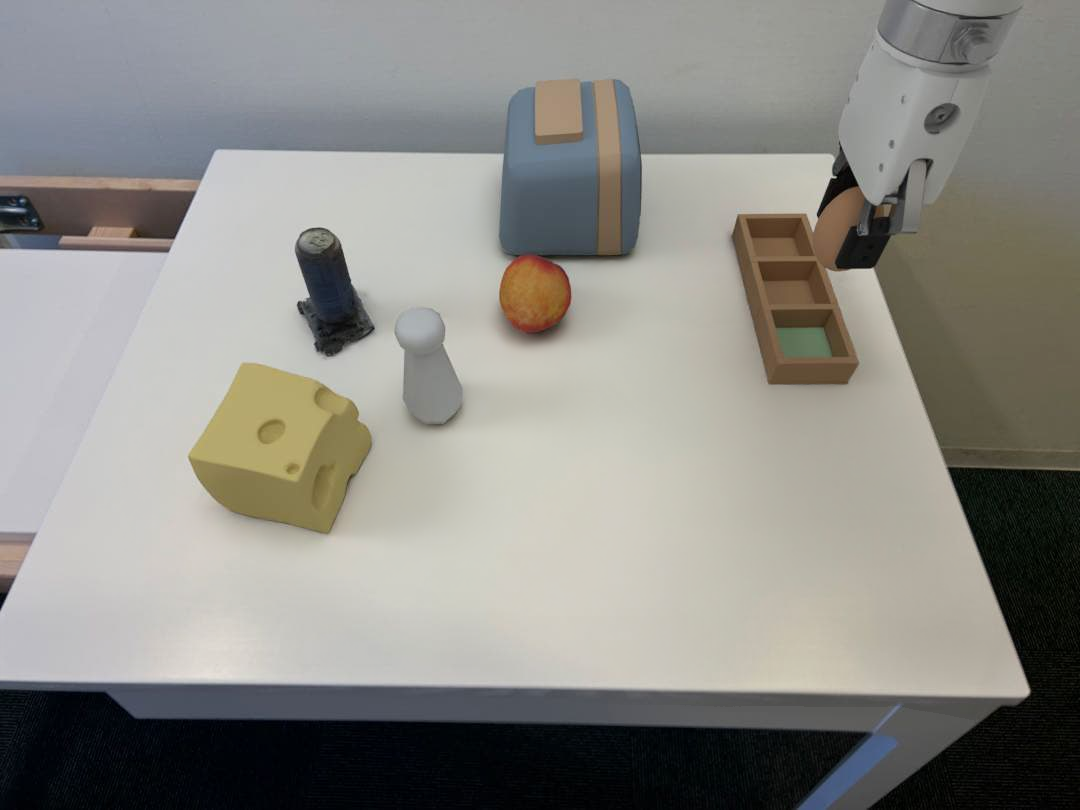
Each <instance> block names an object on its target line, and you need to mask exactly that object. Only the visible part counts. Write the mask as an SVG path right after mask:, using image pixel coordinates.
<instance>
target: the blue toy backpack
mask: <svg viewBox="0 0 1080 810" xmlns="http://www.w3.org/2000/svg"><path fill="white" fill-rule="evenodd" d="M638 130H639V129H638V123H637V116H636V109H635V106H634V100H633V97H632V93H631V90H630V87H629V86H628V85H627V84H626V83H624V82H623V81H622V80H621V79H615V78H613V79H612V78H608V79H597V80H593V81H592V80H587V81H581V79H580V78H578V77H577V78H576V77H575V78H565V79H552V80H540V81H536V82H535V85H534V86H529V87H528V86H527V87H524V88H520V89H518V90H517V91H516V92H515V93H514V94H513V95H512V97H511V98H510V100H509V103H508V106H507V116H506V127H505V138H504V149H503V160H502V171H501V172H502V173H501V188H500V189H501V191H500V209H499V224H498V225H499V228H498V239H499V243H500V247H501V249H502V250H503V251H505V252H506V253H507V254H510V255H513V256H521V255H525V254H533V255H537V256H620V255H622V256H623V255H626V254H629V253H630V252H631V251H632V250H634V249H635V248H636V245H637V242H638V238H639V228H640V222H641V216H642V215H641V213H642V193H643V192H642V189H643V163H642V162H643V161H642V153H641V146H640V137H639V131H638Z"/></svg>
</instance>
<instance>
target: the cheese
mask: <svg viewBox="0 0 1080 810" xmlns="http://www.w3.org/2000/svg"><path fill="white" fill-rule="evenodd" d="M359 417H360V411H359V409H358V407H357V405H356V403H355V402H353V400H352V399H350V398H348V397H345V396H342V395H340V394H338V393H337V392H335V391H334V390H332V389H330V388H329V387H328V386H327V385H325V384H324V383H322V382H320V381H318V380H317V379H313V378H311V377H308V376H303V375H299V374H295V373H292V372H289V371H285V370H282V369H278V368H275V367H273V366H268V365H266V364H260V363H256V362H255V363H254V362H242V363H241V364H240V366H239V367H238V369H237V371H236V373H235V376H234V377H233V380H232V382H231V384H230V387H229V388H228V390H227V392H226V394H225V396H224V397H223V399H222V401H221V402H220V404H219V406H218V407H217V409H216V411H215V413H214V414H213V416H212V417H211V419H210V421H209V422H208V423H207V426H206V427H205V429H204V430H203V432H202V434H201V435H200V437H199V438H198V439H197V442H195V444H194V446H193V447H192V448H191V450H190V452H189V453H188V454H187V458H188V461H189V463H190V465H191V468H192V470H193V472H194V474H195V476H196V478H197V480H198V482H199V483H200V485H202V487H203V488H204V489H205V490H206V492H207V493H208V494H209V495H210V496H211V497H212V498H213V499H214V501H216V502H217V503H218V504H219V505H221V506H222V507H224V508H225V509H227V510H228V511H230V512H233V513H235V514H240V515H244V516H248V517H252V518H258V519H263V520H268V521H272V522H278V523H283V524H288V525H292V526H296V527H300V528H304V529H308V530H311V531H315V532H319V533H322V534H329V533H330V531H331V529H332V528H333V527H332V526H333V524H334V523H335V520H336V518H337V515H338V513H339V511H340V509H341V507H342V504H343V501H344V499H345V497H346V493H347V492H346V491H347V485H348V482H349V479H350V477H351V475H352V476H353V475H356V474H357V473H358V471H359V470H360V467H361V465H362V464H363V461H364V460H365V458H366V456H367V455H368V453H369V451H370V449H371V447H372V444H373V443H372V442H373V438H372V433H371V431H370V429H369V428H368V426H367V425H366V424H364V423H362V422H361V421H359Z"/></svg>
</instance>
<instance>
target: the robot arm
mask: <svg viewBox="0 0 1080 810" xmlns="http://www.w3.org/2000/svg"><path fill="white" fill-rule="evenodd" d="M1026 1H1027V0H885V2H884V5H883V7H882V11H881V13H880V15H879V18H878V21H877V24H876V26H875V29H874V32H873V33H874V34H873V35H874V36H873V37H874V38H873V40H872V42H871V44H870V46H869V48H868V51H867V52H866V55H865V57H864V59H863V61H862V63H861V66H860V68H859V69H858V72H857V75H856V77H855V80H854V81H853V84H852V86H851V89H850V92H849V94H848V97H847V99H846V102H845V105H844V107H843V110H842V114H841V116H840V119H839V123H838V128H837V135H838V145H839V154H838V155H837V157H836V158H835V160H834V162H833V164H832V167H831V174H832V177H831V178H830V179H829V181H828V184H827V187H826V188H825V192H824V193H823V196H822V199H821V201H820V204H819V207H818V209H817V212H816V217H817V220H818V219H819V217H820V215H821V213H822V212H823V211H824V209H825V208H826V206H827V205H828V204H829V203H830V202H831V201H832V200H833V199H834V198H836V197H837V196H838V195H839V194H841V193H842V192H844V191H845V190H847V189H850V188H853V187H857V186H859V187H860V189H861V191H862V193H863V194H864V196H865V198H864V202H863V206H862V209H861V213H860V216H859V220H858V224H857V226H851V227H850V229H849V231H848V234H847V236H846V238H845V240H844V243H843V245H842V247H841V249H840V251H839V254H838V256H837V258H836V260H835V265H836V268H837V269H850V270H869V269H870V270H871V269H873V268H875V267H876V266H877V264H878V262H879V260H880V259H881V256H882V254H883V252H884V250H885V248H886V246H887V245H888V243H889V241H890V239H891V237H892V236H897V235H900V234H901V235H905V234H906V235H907V234H909V235H910V234H911V235H912V234H913V235H914V234H917V233H918V232H919V230H920V227H921V220H922V212H923V206H924V205H925V206H931V205H933V204H934V203H935V202H936V201H937V199H938V198H939V196H940V195H941V193H942V191H943V190H944V187H945V186H946V184H947V181H948V180H949V177H950V176H951V174H952V172H953V170H954V168H955V165H956V163H957V162H958V160H959V157H960V155H961V153H962V152H963V149H964V147H965V145H966V143H967V140H968V138H969V136H970V133H971V131H972V129H973V127H974V125H975V122H976V119H977V117H978V114H979V112H980V109H981V106H982V104H983V100H984V98H985V95H986V93H987V89H988V85H989V83H990V78H991V75H992V69H991V67H990V64H992V63H993V61H994V60H995V59H996V57H997V55H998V54H999V51H1000V49H1001V47H1002V46H1003V45H1004V42H1005V40H1006V38H1007V36H1008V35H1009V32H1010V31H1011V29H1012V27H1013V25H1014V23H1015V21H1016V20H1017V18H1018V15H1019V14H1020V13H1021V10H1022V8H1023V6H1024V4H1025V3H1026ZM1035 1H1036V2H1037V1H1043V0H1035ZM897 188H898V189H897ZM878 205H883V206H885V205H891V206H890V210H889V212H888V215H887V216H884V217H878V218H874V215H875V211H876V208H877V206H878Z"/></svg>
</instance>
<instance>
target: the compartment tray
mask: <svg viewBox="0 0 1080 810" xmlns="http://www.w3.org/2000/svg"><path fill="white" fill-rule="evenodd" d="M735 219H736V220H735V223H734V226H733V231H732V234H731V239H732V243H733V247H734V251H735V256H736V259H737V263H738V267H739V271H740V275H741V279H742V283H743V287H744V291H745V296H746V300H747V303H748V307H749V311H750V315H751V319H752V323H753V327H754V331H755V335H756V339H757V342H758V347H759V351H760V355H761V359H762V363H763V367H764V371H765V376H766V379H767V383H768V385H844V384H845V385H846V384H848V383H849V382H850V381H851V378H852V376H853V374H854V373H855V371H856V369H857V367H858V366H859V364H860V361H859V358H858V355H857V353H856V350H855V347H854V344H853V341H852V339H851V335H850V332H849V329H848V328H847V324H846V321H845V318H844V316H843V314H842V311H841V308H840V305H839V301H838V299H837V296H836V293H835V290H834V287H833V284H832V282H831V280H830V276H829V273H828V271H827V270H828V269H827V268H825V267H824V266H822V265H821V264H820V262H819V261H818V259H817V258H816V256H815V253H814V249H813V241H812V238H813V232H814V230H813V229H812V225H811V223H810V220H809V217H808V214H807V213H804V212H803V213H737V216H736V218H735Z"/></svg>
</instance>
